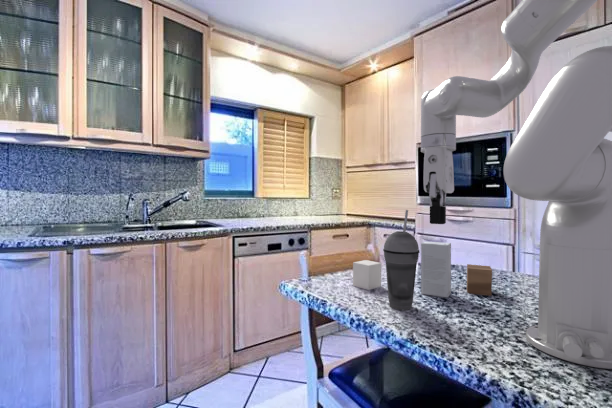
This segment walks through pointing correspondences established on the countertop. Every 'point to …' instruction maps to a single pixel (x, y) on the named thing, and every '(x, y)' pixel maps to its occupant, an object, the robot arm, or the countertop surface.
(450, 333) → the countertop surface
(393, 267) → the beverage cup
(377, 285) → the off-white block
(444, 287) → the skincare box
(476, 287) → the walnut block
